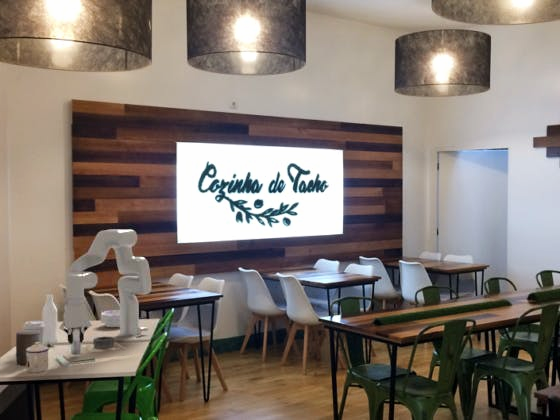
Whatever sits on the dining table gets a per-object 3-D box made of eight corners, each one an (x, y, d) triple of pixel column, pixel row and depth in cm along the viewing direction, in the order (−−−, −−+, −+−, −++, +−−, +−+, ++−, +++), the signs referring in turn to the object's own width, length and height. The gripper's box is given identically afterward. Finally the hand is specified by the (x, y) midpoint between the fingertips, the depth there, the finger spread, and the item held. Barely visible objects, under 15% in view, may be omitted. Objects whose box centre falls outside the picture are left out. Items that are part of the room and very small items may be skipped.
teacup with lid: (27, 367, 276) (27, 340, 276) (49, 366, 279) (49, 339, 278) (23, 375, 265) (23, 347, 264) (47, 373, 267) (47, 345, 267)
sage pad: (87, 355, 298) (87, 352, 298) (95, 361, 286) (95, 359, 286) (56, 359, 291) (56, 356, 291) (63, 365, 279) (63, 363, 279)
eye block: (115, 344, 319) (115, 333, 319) (125, 351, 305) (125, 339, 305) (82, 348, 311) (82, 337, 311) (91, 355, 297) (90, 343, 297)
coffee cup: (23, 353, 302) (22, 321, 302) (44, 351, 306) (44, 319, 306) (23, 357, 293) (23, 325, 293) (46, 355, 297) (45, 323, 297)
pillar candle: (16, 366, 279) (16, 331, 278) (15, 361, 288) (15, 327, 287) (40, 364, 282) (40, 330, 282) (39, 359, 291) (39, 326, 291)
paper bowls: (118, 329, 355) (118, 315, 355) (95, 327, 361) (95, 313, 361) (134, 324, 369) (134, 310, 369) (111, 322, 375) (111, 309, 375)
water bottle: (52, 347, 314) (52, 296, 314) (39, 346, 316) (38, 295, 315) (60, 343, 321) (60, 293, 321) (47, 343, 323) (46, 293, 322)
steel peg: (81, 354, 288) (81, 325, 287) (72, 355, 286) (71, 326, 285) (79, 352, 291) (79, 323, 291) (70, 353, 289) (69, 324, 289)
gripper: (57, 304, 281) (58, 346, 281) (96, 301, 289) (96, 341, 289) (54, 302, 287) (54, 343, 287) (92, 298, 296) (92, 338, 296)
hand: (75, 342), depth 288 cm, fingers closed on steel peg, 4 cm apart
